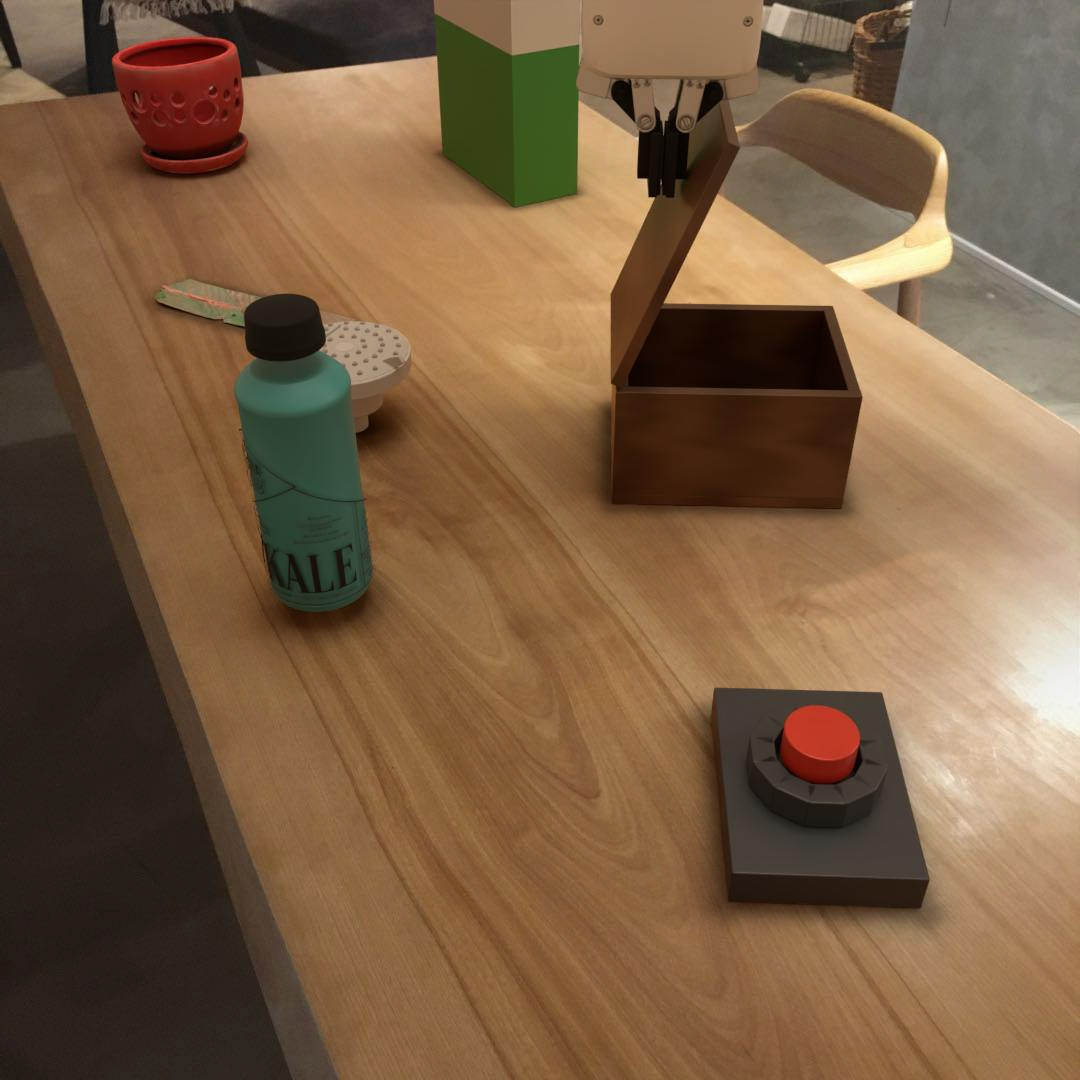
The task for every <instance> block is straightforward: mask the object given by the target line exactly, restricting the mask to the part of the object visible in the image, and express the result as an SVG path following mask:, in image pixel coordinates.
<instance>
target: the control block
mask: <svg viewBox="0 0 1080 1080" xmlns="http://www.w3.org/2000/svg"><path fill="white" fill-rule="evenodd" d="M812 705H819V706H826V707H830V708H833V709H836V710H838V711H840V712H842V713H844V714H845V715H847V716H848V717H849V718H850V719H851V720H852V721H853V722H854V723H855V725H856V726H857V728H858V731H859V734H860V743H859V747H858V752H857V756H856V760H855V764H854V768H853V770H852V772H851V773H850V774H849V775H848V776H847V777H846V778H844V779H843V780H841V781H838V782H836V783H831V784H816V783H811V782H808V781H805V780H803V779H801V778H799V777H797V776H795V775H794V774H793V773H792V772H790V771H789V770H788V769H787V767H786V766H785V765H784V763H783V761H782V758H781V755H780V747H781V741H782V735H783V730H784V724H785V721H786V719H787V718H788V716H789V715H790V714H791V713H792V712H794V711H795V710H797V709H799V708H802V707H805V706H812ZM710 710H711V711H710V721H711V732H712V744H713V753H714V762H715V763H714V766H715V776H716V777H715V778H716V787H717V799H718V808H719V809H718V810H719V818H720V820H719V821H720V829H721V831H720V832H721V840H722V851H723V862H724V875H725V884H726V895H727V901H728V902H739V903H740V902H741V903H742V902H743V903H768V904H769V903H771V904H795V905H796V904H797V905H825V906H827V905H828V906H851V907H852V906H853V907H854V906H855V907H881V908H883V907H885V908H906V909H907V908H910V909H911V908H912V909H913V908H914V909H921V908H922V905H923V902H924V900H925V896H926V893H927V890H928V887H929V883H930V881H931V880H930V875H929V870H928V867H927V863H926V859H925V856H924V852H923V847H922V844H921V840H920V836H919V832H918V828H917V824H916V820H915V816H914V812H913V808H912V805H911V804H912V803H911V800H910V796H909V793H908V788H907V784H906V781H905V776H904V773H903V769H902V765H901V761H900V757H899V754H898V749H897V745H896V741H895V738H894V734H893V730H892V726H891V721H890V718H889V714H888V709H887V705H886V702H885V697H884V694H883V692H882V691H855V690H854V691H853V690H821V689H820V690H819V689H817V690H816V689H785V688H784V689H783V688H781V689H780V688H749V687H748V688H746V687H714V688H713V693H712V701H711V709H710Z"/></svg>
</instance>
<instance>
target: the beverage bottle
mask: <svg viewBox="0 0 1080 1080" xmlns="http://www.w3.org/2000/svg"><path fill="white" fill-rule="evenodd" d="M262 297H263V298H260V299H258V300H256V301H254V302H252V303H251V304H250V305H249V306H248V307H247V308H246V309H245V312H244V324H245V326H244V342H245V347H246V351H247V352H248V353H249V354H250V355H251V356H253V357H254V359H252V360H251V362H250V363H248V364H247V365H246V367H244V369H242V371H241V372H240V373H239V375H238V376H237V378H236V379H235V381H234V386H233V392H234V393H233V394H234V398H235V401H236V402H237V409H238V413H239V420H240V425H241V427H240V428H239V429H238V431H239V434H240V436H241V439H242V443H241V446H242V447H241V448H242V454H243V457H244V462H245V468H246V469H245V470H246V473H247V476H249V477H247V478H248V480H249V483H250V487H252V490H253V496H254V500H252V502H253V503H254V505H253V504H252V505H253V511H254V515H255V519H256V520H255V521H256V522H255V523H256V524H257V530H258V533H259V536H260V539H261V551H262V552H261V553H262V559H263V563H264V564H265V569H267V570H266V576H268V575H269V576H268V577H269V579H268V578H267V579H266V580H267V584H268V585H270V586H269V588H270V589H271V591H272V592H273V593H274V594H275V595H276V597H277V599H279V601H280V602H282V603H283V604H284V605H285V606H287V607H289V608H292V609H295V610H297V611H302V612H307V613H323V612H331V611H334V610H339V609H341V608H344V607H346V606H348V605H350V604H353V603H354V602H355V601H357V600H358V599H360V598H361V597H362V596H363V595H364V594H365V593H366V591H367V590H368V588H369V586H370V583H371V582H372V579H373V576H374V575H375V572H374V571H375V570H376V568H374V565H373V562H374V559H373V558H374V555H373V551H371V549H372V546H371V544H373V541H372V539H370V538H369V537H370V532H371V531H369V526H368V521H369V518H367V509H366V506H365V505H366V503H365V501H366V500H367V499H368V498H367V497H366V498H364V492H363V487H362V477H361V469H360V468H361V467H360V460H359V451H358V444H357V443H358V441H357V434H356V433H355V424H354V415H353V407H352V398H351V389H350V388H351V378H350V375H349V373H348V371H347V369H346V368H345V367H344V366H343V365H342V364H341V363H340V362H338V361H337V360H336V359H334V358H333V357H331V356H329V355H327V354H326V353H324V352H322V351H319V350H320V349H321V348H322V347H323V346H324V344H325V342H326V334H325V329H324V326H323V324H322V319H321V314H320V310H321V309H320V307H319V304H318V303H317V302H316V301H315V300H314V299H312V298H311V297H310V296H306V295H303V294H299V293H276V294H271V295H266V296H262ZM241 433H242V434H241ZM368 515H369V514H368Z"/></svg>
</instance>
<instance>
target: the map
mask: <svg viewBox="0 0 1080 1080" xmlns="http://www.w3.org/2000/svg"><path fill="white" fill-rule="evenodd" d="M159 290H160V291H158V293H157V294H156V295H155V296H154V297H155V300H156V301H157V302H158V303H161V304H164V305H166V306H169V307H171V308H175V309H178V310H181V311H184V312H187V313H190V314H194V315H197V316H201V317H203V318H207V319H212V320H223V323H225V324H226V323H227V324H231V325H235V326H240V327H245V324H244V312H245V309H246V308H247V307H248V306H249V305H250V304H251V303H252V302H254V301H256V300H258V299H260V298H263V297H264V296H257V295H254V294H250V293H245V292H240V291H237V290H232V289H229V288H225V287H221V286H217V285H212V284H209V283H206V282H201V281H198V280H195V279H192V278H188V279H186V280H183V281H182V282H181V281H176V282H175V283H173V284H171V283H170V284H168V285H165V284H162V285H161V287H160V289H159ZM319 310H320V314H321V319H322V324H323V325H325V324H328V323H337V322H344V321H356V320H357V319H356V318H353V317H349V316H344V315H340V314H337V313H333V312H329V311H326V310H322V309H319Z"/></svg>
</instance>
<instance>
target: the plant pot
mask: <svg viewBox="0 0 1080 1080" xmlns="http://www.w3.org/2000/svg"><path fill="white" fill-rule="evenodd" d="M111 64H112V67H113V68H112V69H113V73H114V74H113V75H114V78H115V82H116V86H117V89H118V92H119V96H120V98H121V102H122V105H123V108H124V110H125V112H126V115H127V116H128V118H129V121H130V123H131V125H132V126H133V128H134V130H135V131H136V133H137V134H138V135H139V137H140V139H141V140H142V141H143V142H144V144H143V145H142V146H141V148H140V149H141V150H140V152H141V156H142V158H143V160H144V161H145V162H146V163H147V164H148V165H149V166H151V167H153V168H155V169H157V170H158V171H163V172H166V173H170V174H185V175H186V174H189V175H190V174H200V173H208V172H214V171H216V170H217V171H218V170H220V169H223V168H230V167H232V166H233V164H234V163H236V162H237V161H238V160H240V159H241V158H242V157H243V156H244V154H245V153H246V151H247V149H248V146H249V140H248V137H247V135H246V134H245V133H243V132H242V131H240V129H241V128H240V127H241V124H242V121H243V115H244V106H245V104H244V103H245V101H244V100H245V97H244V90H243V89H244V87H243V80H242V68H241V62H240V56H239V52H238V48H237V46H236V44H235V43H233V42H232V41H230V40H227V39H224V38H219V37H213V36H212V37H209V36H183V37H182V36H181V37H168V38H161V39H155V40H150V41H145V42H141V43H138V44H135V45H131V46H129V47H126V48H124V49H122V50H120V51H118V52H116V53H115V54H114V55H113V57H112V58H111ZM136 98H137V99H138V101H137V99H136Z"/></svg>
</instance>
